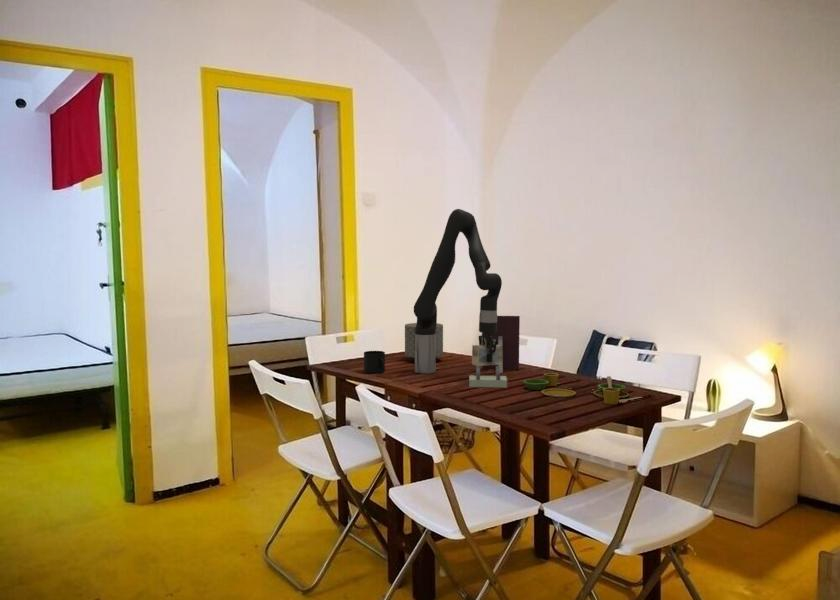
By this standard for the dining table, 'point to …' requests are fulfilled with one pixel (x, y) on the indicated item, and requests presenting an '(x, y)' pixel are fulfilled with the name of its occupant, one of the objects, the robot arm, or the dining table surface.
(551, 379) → the tableware set
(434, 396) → the dining table surface
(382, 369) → the mug
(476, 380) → the grey pronged block
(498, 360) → the panel
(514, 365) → the dark maroon upright block
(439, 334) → the planter
